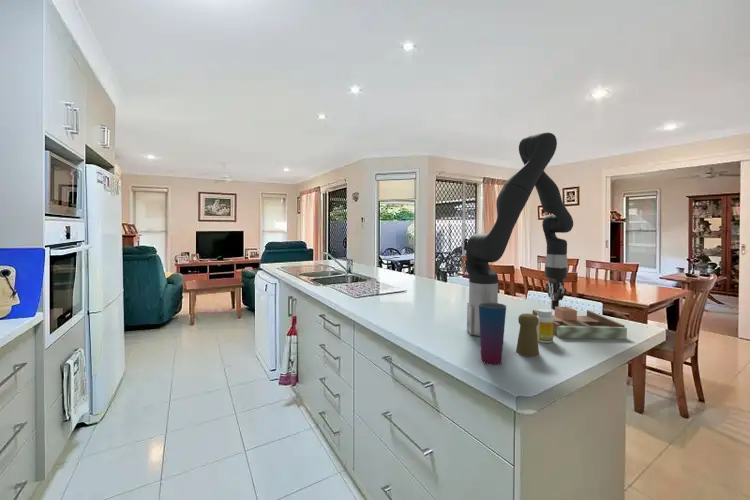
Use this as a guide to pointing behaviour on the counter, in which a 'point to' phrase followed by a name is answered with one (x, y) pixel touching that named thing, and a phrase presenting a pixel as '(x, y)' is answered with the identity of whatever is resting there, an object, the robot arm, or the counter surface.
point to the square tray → (588, 327)
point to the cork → (528, 335)
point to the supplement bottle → (545, 326)
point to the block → (565, 313)
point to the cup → (492, 331)
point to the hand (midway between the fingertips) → (554, 309)
